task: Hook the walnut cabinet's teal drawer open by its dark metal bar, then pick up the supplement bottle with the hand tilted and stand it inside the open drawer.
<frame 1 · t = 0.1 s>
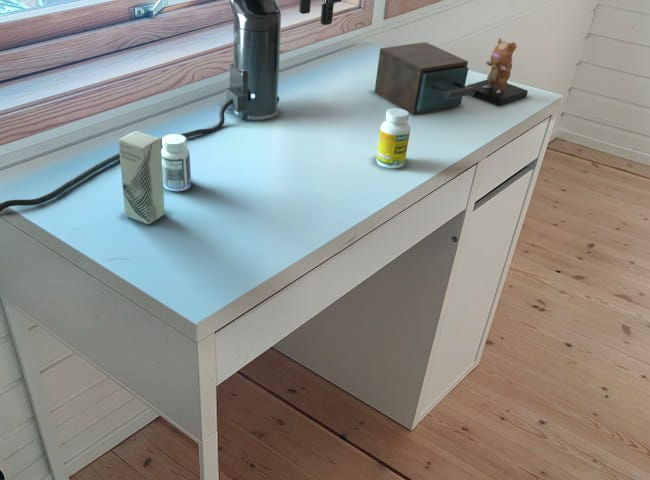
hand: (315, 18, 138), 17 cm above the table, tool pointing down, fingers open, 8 cm apart
drawer: (432, 84, 147), point 5 cm above the table, slide at 0.0 cm
supplement bottle: (390, 163, 128), on the table
cabinet: (415, 99, 153), on the table
pill bottle: (177, 186, 118), on the table
box: (146, 216, 110), on the table
figurine: (494, 95, 157), on the table
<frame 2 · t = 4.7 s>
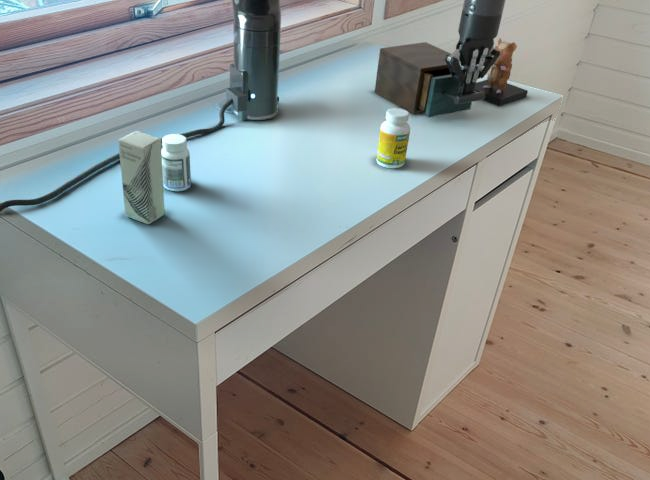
hand: (463, 100, 141), 5 cm above the table, tool pointing down, fingers closed
drawer: (441, 88, 145), point 5 cm above the table, slide at 3.1 cm, touching gripper
everything else where it was.
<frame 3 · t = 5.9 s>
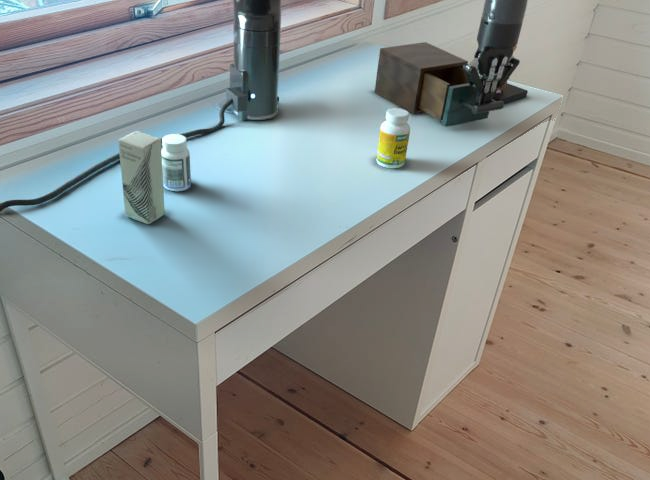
hand: (480, 109, 137), 5 cm above the table, tool pointing down, fingers closed
drawer: (458, 97, 142), point 5 cm above the table, slide at 8.6 cm, touching gripper
everything else where it was.
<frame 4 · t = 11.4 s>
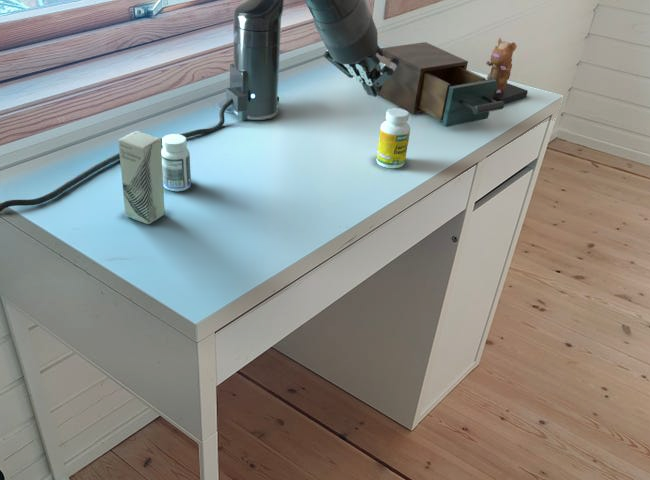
hand: (374, 91, 112), 16 cm above the table, tool tilted 45°, fingers closed
drawer: (458, 97, 142), point 5 cm above the table, slide at 8.7 cm
everything else where it was.
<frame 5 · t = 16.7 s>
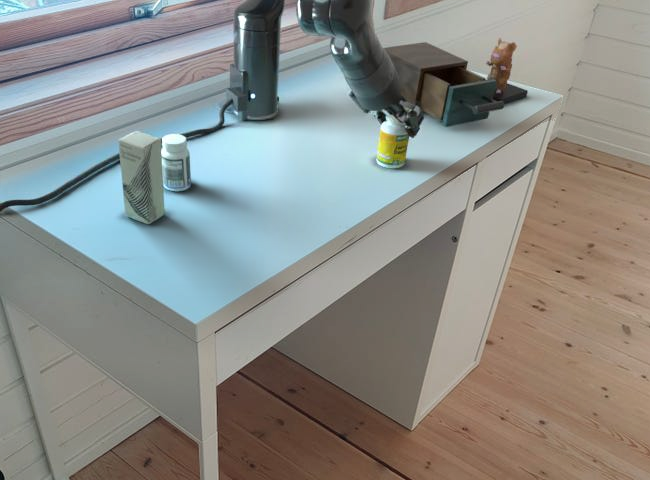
hand: (400, 127, 125), 6 cm above the table, tool tilted 45°, fingers closed on supplement bottle, 5 cm apart
supplement bottle: (390, 163, 128), on the table, touching gripper
everything else where it was.
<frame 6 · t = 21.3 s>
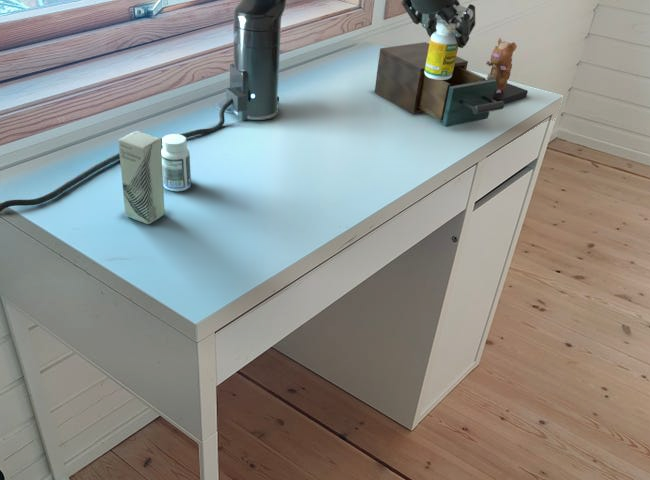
hand: (449, 39, 128), 18 cm above the table, tool tilted 45°, fingers closed on supplement bottle, 5 cm apart
supplement bottle: (437, 76, 131), point 12 cm above the table, touching gripper
everything else where it was.
when the fingers open (8 cm above the table, at t = 25.9 s): supplement bottle moves 1 cm, resting on drawer.
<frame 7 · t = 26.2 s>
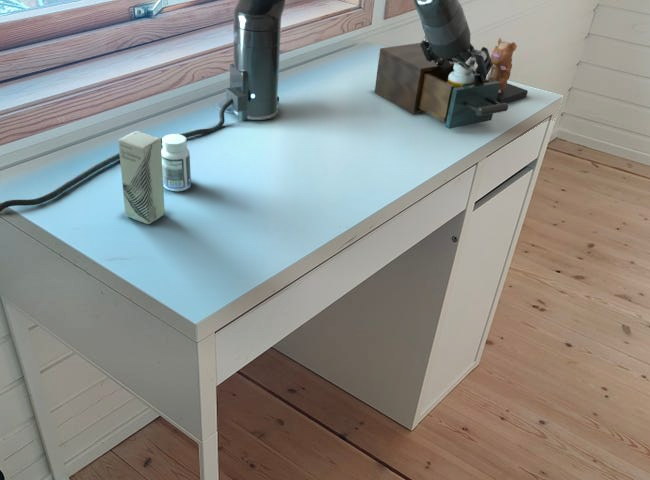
hand: (463, 76, 141), 9 cm above the table, tool tilted 45°, fingers open, 7 cm apart
drawer: (462, 99, 141), point 5 cm above the table, slide at 9.8 cm, touching supplement bottle
supplement bottle: (454, 111, 144), point 2 cm above the table, touching drawer
everything else where it was.
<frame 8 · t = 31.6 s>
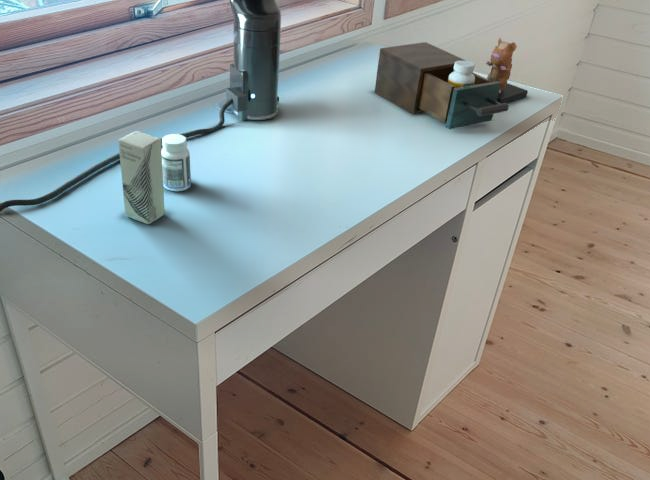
nothing on the table moved.
at the end: drawer slide at 9.9 cm; supplement bottle inside the target area in the drawer (1.4 cm from its centre), point 1.8 cm above the cabinet's base; supplement bottle tilted 0° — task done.
